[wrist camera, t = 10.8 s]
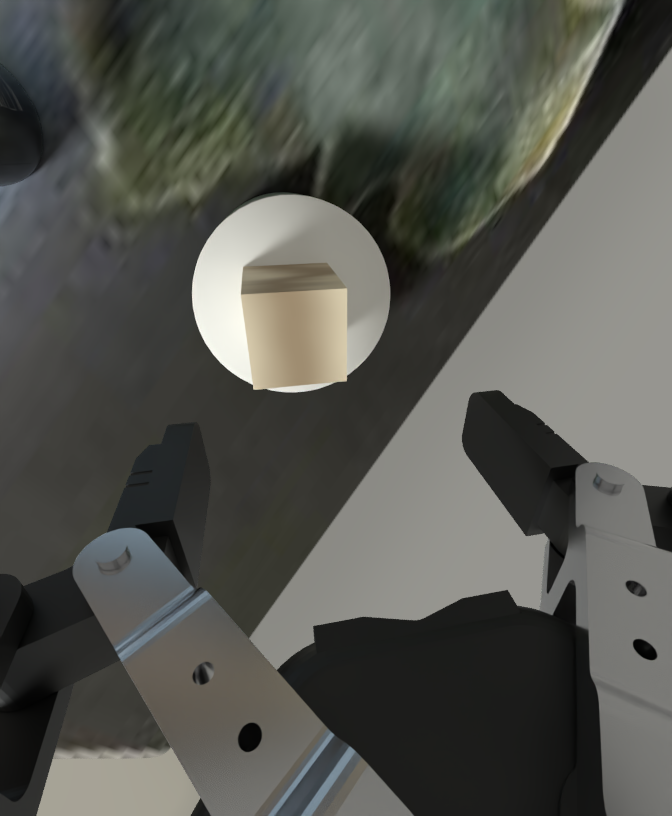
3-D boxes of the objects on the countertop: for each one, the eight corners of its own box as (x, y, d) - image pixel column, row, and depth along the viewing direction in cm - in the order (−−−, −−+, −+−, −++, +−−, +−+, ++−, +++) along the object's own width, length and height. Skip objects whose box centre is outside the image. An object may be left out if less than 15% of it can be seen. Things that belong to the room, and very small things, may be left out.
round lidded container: (371, 192, 29) (402, 199, 23) (357, 351, 35) (379, 388, 29) (193, 184, 26) (176, 189, 21) (213, 355, 33) (205, 396, 27)
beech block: (327, 262, 24) (347, 288, 19) (328, 340, 26) (346, 381, 21) (243, 266, 23) (240, 294, 18) (253, 346, 26) (253, 389, 21)
